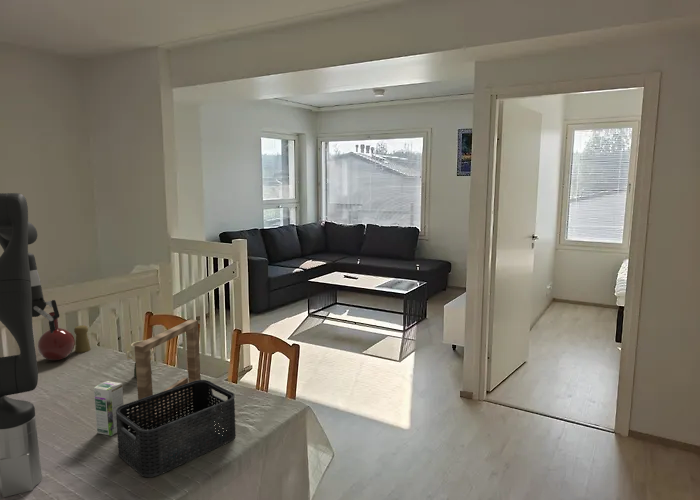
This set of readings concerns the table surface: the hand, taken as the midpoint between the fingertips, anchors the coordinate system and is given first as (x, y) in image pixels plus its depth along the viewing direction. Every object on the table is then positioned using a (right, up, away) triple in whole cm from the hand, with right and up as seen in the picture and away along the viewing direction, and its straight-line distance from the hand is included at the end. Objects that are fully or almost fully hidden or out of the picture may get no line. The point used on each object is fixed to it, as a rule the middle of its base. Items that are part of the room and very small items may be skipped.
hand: (36, 336), depth 155 cm
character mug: (+21, -21, +31) cm, 43 cm away
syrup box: (+27, -27, -7) cm, 40 cm away
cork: (-17, -17, +58) cm, 62 cm away
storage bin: (+51, -29, -15) cm, 60 cm away
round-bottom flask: (-22, -18, +47) cm, 55 cm away
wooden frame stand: (+40, -24, +10) cm, 48 cm away
